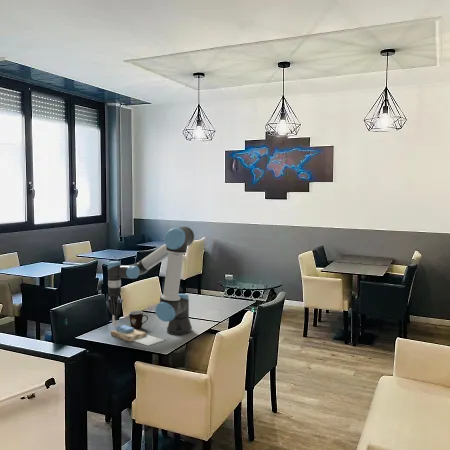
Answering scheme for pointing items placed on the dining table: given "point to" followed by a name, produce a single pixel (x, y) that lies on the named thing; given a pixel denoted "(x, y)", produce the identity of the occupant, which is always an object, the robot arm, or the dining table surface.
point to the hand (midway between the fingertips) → (115, 325)
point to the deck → (129, 335)
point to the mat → (148, 340)
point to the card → (125, 329)
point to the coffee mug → (136, 319)
